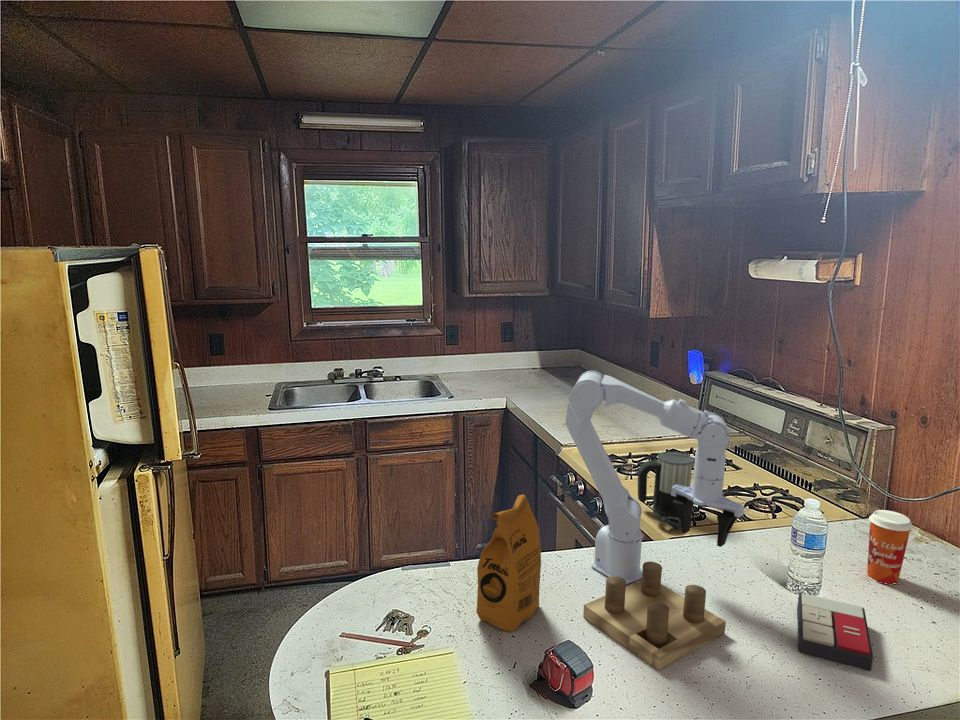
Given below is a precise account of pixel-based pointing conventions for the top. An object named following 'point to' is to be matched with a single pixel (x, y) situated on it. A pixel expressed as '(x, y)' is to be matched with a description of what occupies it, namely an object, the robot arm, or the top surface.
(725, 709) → the top surface
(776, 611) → the top surface
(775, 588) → the top surface
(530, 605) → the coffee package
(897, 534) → the paper cup
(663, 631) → the loose leg
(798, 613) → the calculator
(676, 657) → the wooden peg board
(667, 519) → the milk frother
